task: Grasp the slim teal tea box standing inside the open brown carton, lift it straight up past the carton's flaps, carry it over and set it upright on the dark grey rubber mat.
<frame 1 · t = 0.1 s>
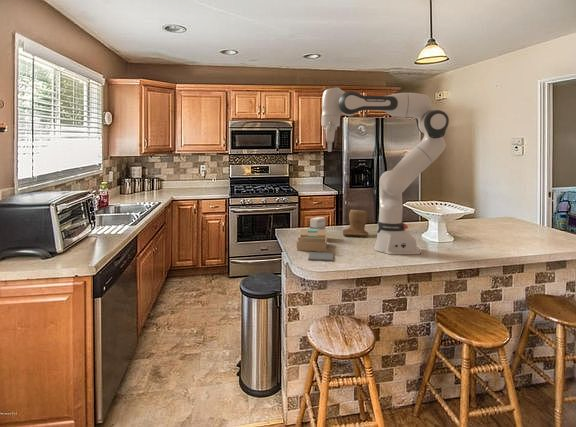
hand: (329, 151, 189), 48 cm above the countertop, tool pointing down, fingers open, 8 cm apart
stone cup: (354, 235, 224), on the countertop
mat: (320, 257, 178), on the countertop
tea box: (312, 247, 197), resting in carton
carton: (312, 246, 197), on the countertop
ink box: (317, 239, 214), on the countertop
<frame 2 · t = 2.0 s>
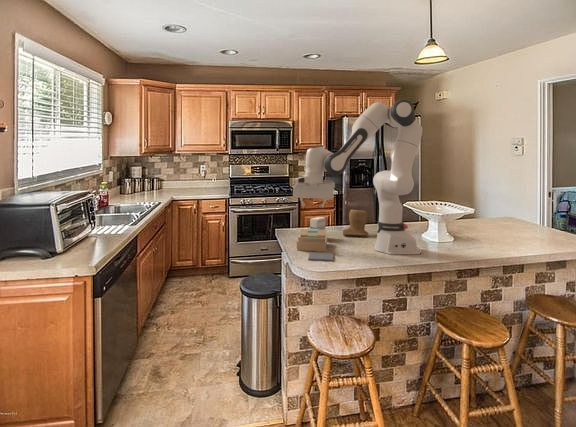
hand: (312, 207, 193), 20 cm above the countertop, tool pointing down, fingers open, 8 cm apart
nothing on the countertop moved.
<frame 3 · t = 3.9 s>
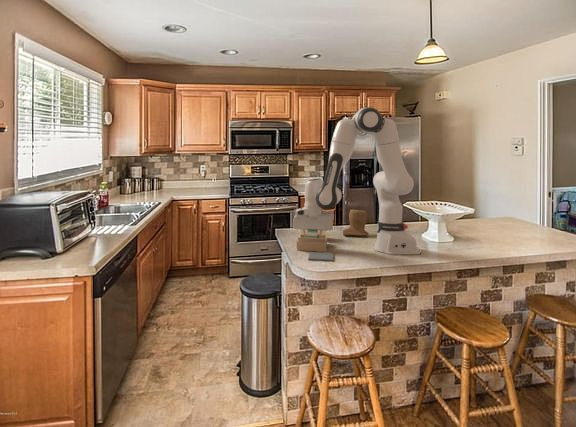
hand: (312, 238, 196), 5 cm above the countertop, tool pointing down, fingers closed on tea box, 5 cm apart
tea box: (312, 247, 197), resting in carton, touching gripper
everything else where it was.
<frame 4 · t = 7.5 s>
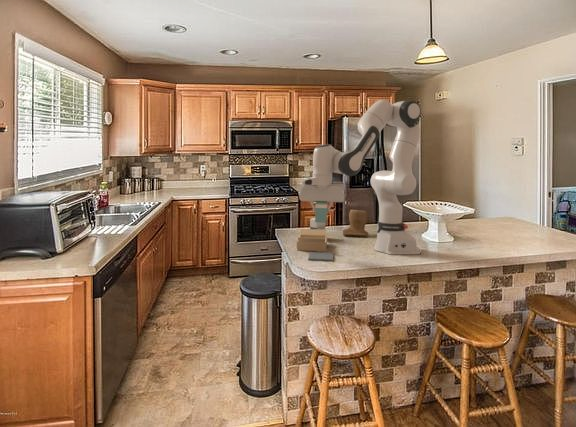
hand: (321, 211, 176), 21 cm above the countertop, tool pointing down, fingers closed on tea box, 5 cm apart
tea box: (320, 221, 177), point 17 cm above the countertop, touching gripper
everything else where it was.
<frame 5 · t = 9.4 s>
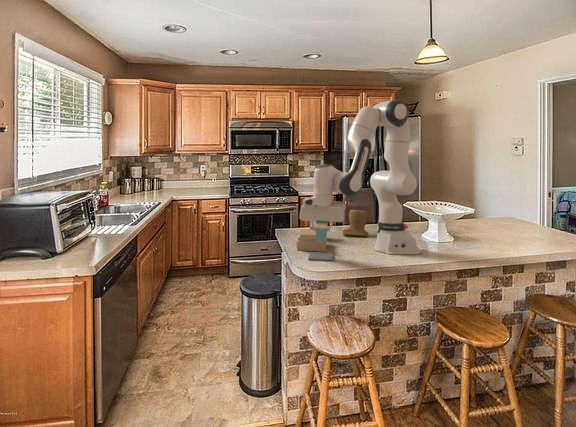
hand: (321, 230, 176), 12 cm above the countertop, tool pointing down, fingers closed on tea box, 5 cm apart
tea box: (321, 240, 177), point 8 cm above the countertop, touching gripper
everything else where it was.
when the fingers open (6 cm above the countertop, at t = 11.0 s): tea box stays where it is, resting on mat.
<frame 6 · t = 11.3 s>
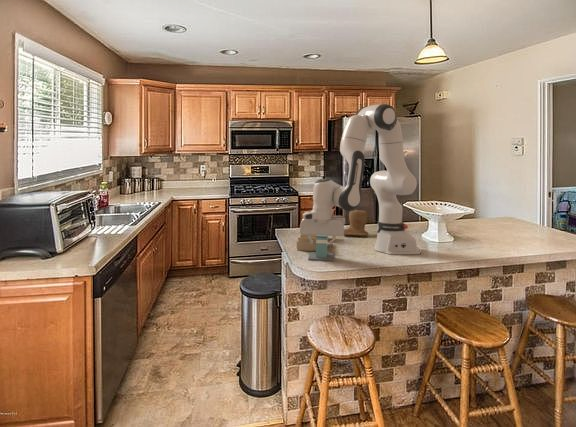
hand: (321, 244, 177), 6 cm above the countertop, tool pointing down, fingers open, 8 cm apart
tea box: (321, 255, 178), point 1 cm above the countertop, touching mat
everything else where it was.
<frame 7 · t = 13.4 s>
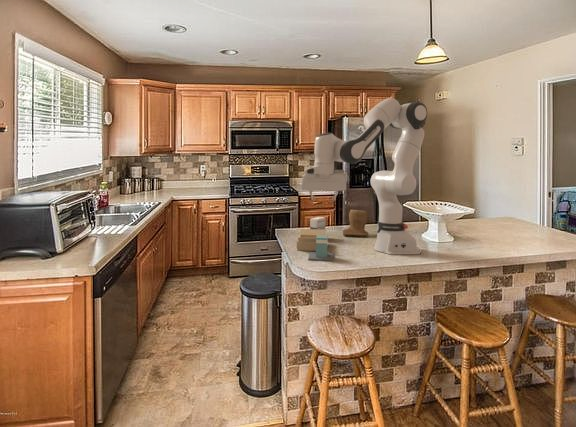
hand: (323, 200, 176), 26 cm above the countertop, tool pointing down, fingers open, 8 cm apart
nothing on the countertop moved.
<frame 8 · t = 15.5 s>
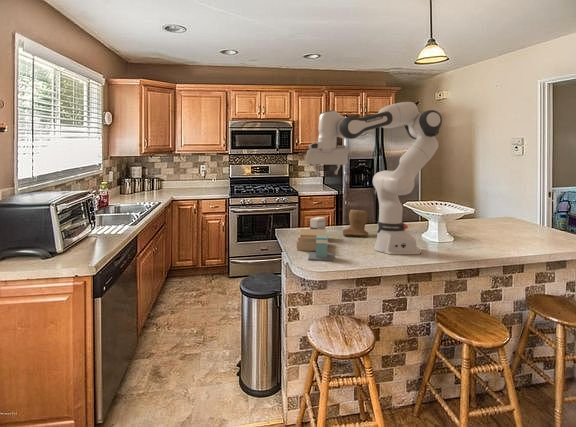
hand: (326, 174, 189), 37 cm above the countertop, tool pointing down, fingers open, 8 cm apart
nothing on the countertop moved.
at the end: tea box inside the target area on the mat (0.2 cm from its centre), point 0.8 cm above the mat's base; tea box tilted 0°; the gripper is holding nothing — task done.
